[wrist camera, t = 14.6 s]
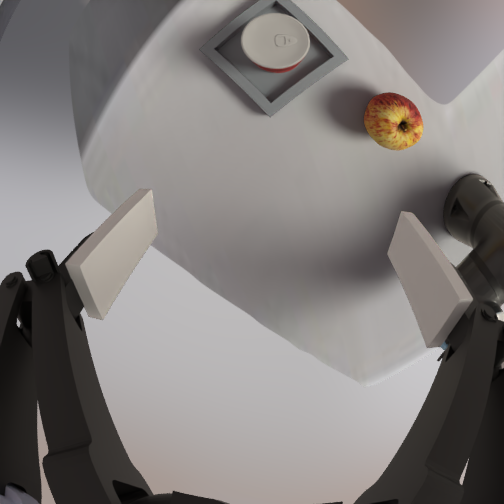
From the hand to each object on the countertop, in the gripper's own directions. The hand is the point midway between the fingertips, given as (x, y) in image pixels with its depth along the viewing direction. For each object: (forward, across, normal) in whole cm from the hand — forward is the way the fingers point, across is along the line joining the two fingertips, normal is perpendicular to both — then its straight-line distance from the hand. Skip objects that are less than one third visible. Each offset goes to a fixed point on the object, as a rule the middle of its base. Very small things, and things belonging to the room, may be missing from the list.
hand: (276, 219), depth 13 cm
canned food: (+32, +1, -13) cm, 35 cm away
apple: (+33, -17, -4) cm, 37 cm away
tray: (+33, +1, -13) cm, 35 cm away
